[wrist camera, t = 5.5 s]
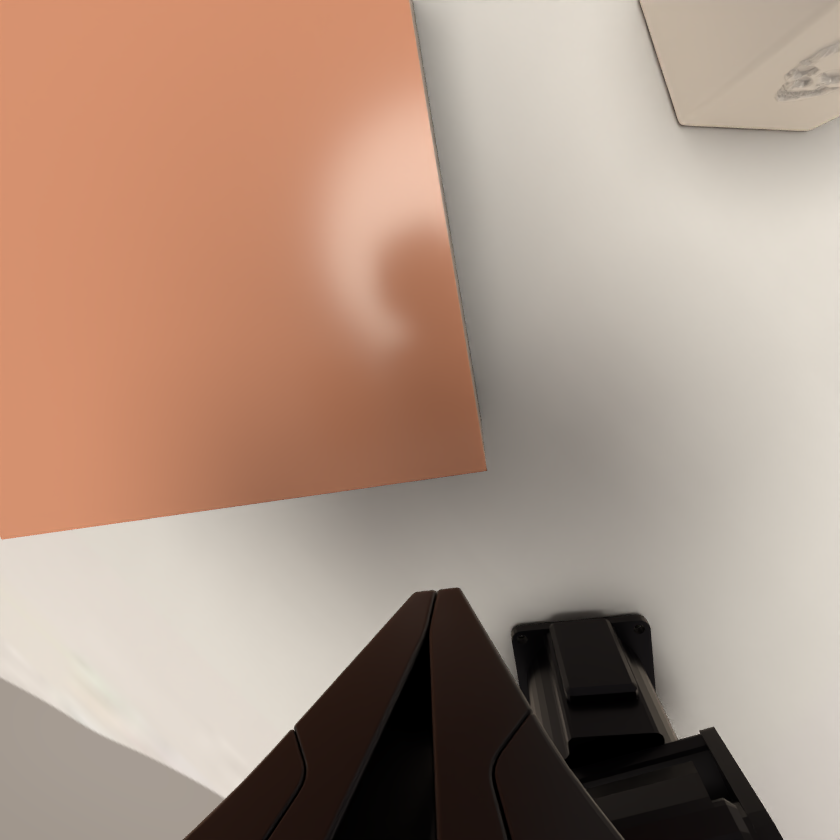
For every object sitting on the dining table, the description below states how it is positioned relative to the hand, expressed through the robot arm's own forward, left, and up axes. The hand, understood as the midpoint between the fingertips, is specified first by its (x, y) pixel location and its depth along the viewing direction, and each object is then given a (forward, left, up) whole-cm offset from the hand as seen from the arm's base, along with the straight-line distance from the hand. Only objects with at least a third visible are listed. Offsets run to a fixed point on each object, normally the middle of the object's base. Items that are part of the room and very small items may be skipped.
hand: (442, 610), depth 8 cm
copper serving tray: (+8, +8, -8) cm, 14 cm away
